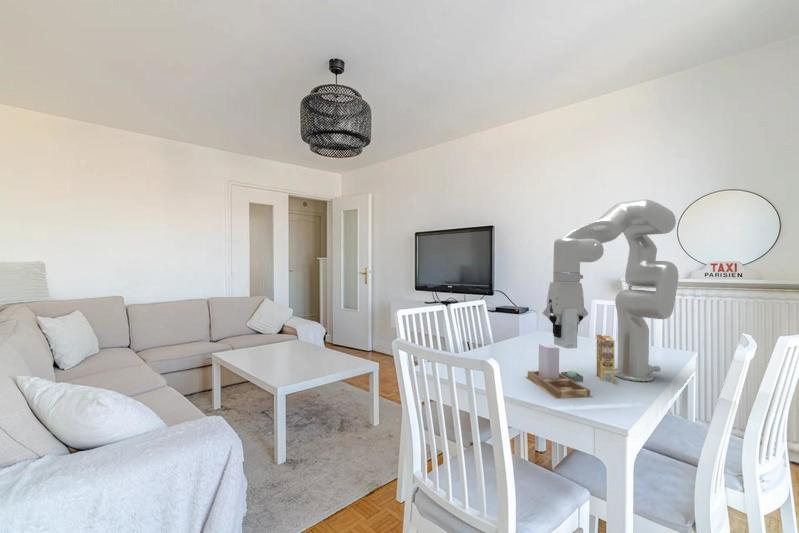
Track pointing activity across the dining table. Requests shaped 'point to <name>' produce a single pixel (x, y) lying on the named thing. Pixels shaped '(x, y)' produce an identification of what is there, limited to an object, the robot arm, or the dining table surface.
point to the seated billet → (548, 361)
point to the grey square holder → (573, 377)
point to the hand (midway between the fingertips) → (564, 336)
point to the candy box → (605, 358)
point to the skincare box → (568, 329)
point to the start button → (571, 373)
